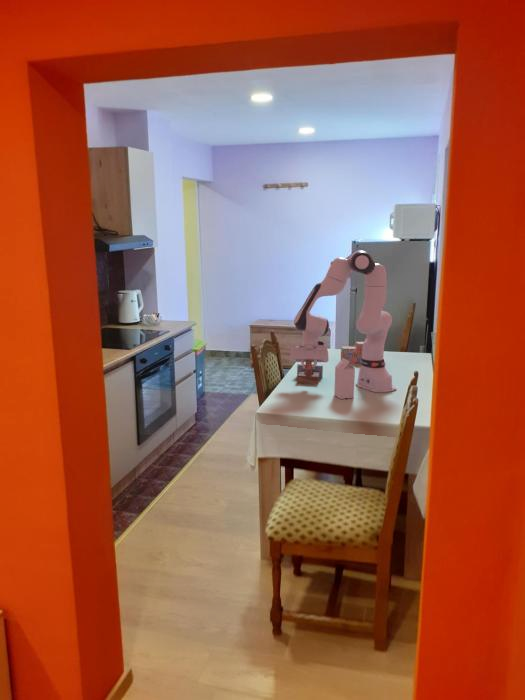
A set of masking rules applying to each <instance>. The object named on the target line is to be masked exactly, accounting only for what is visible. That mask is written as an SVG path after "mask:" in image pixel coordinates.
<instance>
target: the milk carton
mask: <svg viewBox="0 0 525 700" xmlns="http://www.w3.org/2000/svg"><path fill="white" fill-rule="evenodd" d="M334 370H335V371H334V393H333V395H334V396H335V397H336V396H337V397H336V398H338V399H340V400H345V398H348V399H354V397H355V376H356V375H355V374H356V368H355V367H354V366H352V364H351V363H349V361H347V360H345V359H343V358H342V360H341V359H340V360H339V363H337V364H336V365H335V369H334Z"/></svg>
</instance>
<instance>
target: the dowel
mask: <svg viewBox="0 0 525 700" xmlns="http://www.w3.org/2000/svg"><path fill="white" fill-rule="evenodd" d="M305 364H306V377H312V364H313V362H312V361H306V362H305Z"/></svg>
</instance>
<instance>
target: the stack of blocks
mask: <svg viewBox="0 0 525 700" xmlns="http://www.w3.org/2000/svg"><path fill="white" fill-rule="evenodd" d="M363 342H364V341H355V345H354V346H341V347H340V361H341V360H342V358H343V359H345V360H347V361H349V364H361V358H362V351H363Z"/></svg>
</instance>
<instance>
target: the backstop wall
mask: <svg viewBox="0 0 525 700" xmlns="http://www.w3.org/2000/svg"><path fill="white" fill-rule="evenodd" d="M323 365H324V364H316V365H315V369H312V371H319V372H320V377H319V379H323V374H324V372H323V371H324V369H323V368H324V366H323ZM296 369H297V370H296V372H297V373H296V377H297V378H298V374H299V371H306V369H303V366H302V364H297V368H296Z"/></svg>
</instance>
